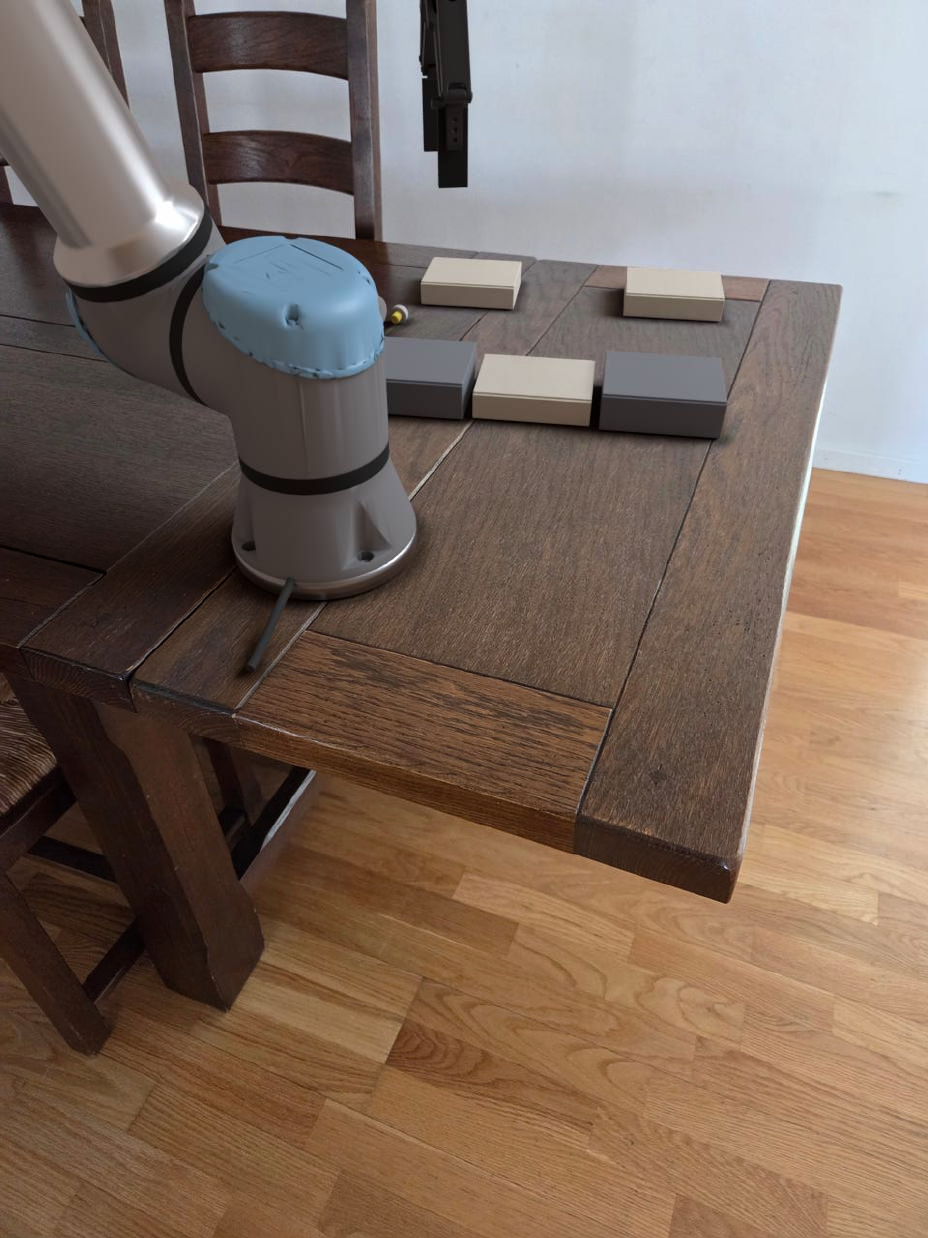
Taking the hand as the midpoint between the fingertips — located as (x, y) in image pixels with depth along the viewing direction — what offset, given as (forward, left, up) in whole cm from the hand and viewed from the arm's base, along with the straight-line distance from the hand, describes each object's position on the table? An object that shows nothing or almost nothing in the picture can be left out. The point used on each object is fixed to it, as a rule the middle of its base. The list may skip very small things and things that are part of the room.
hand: (444, 167), depth 85 cm
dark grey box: (-8, -24, -21) cm, 32 cm away
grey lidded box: (-8, +2, -21) cm, 22 cm away
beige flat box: (-8, -11, -21) cm, 24 cm away
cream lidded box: (+21, -26, -21) cm, 39 cm away
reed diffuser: (+12, +17, -21) cm, 30 cm away
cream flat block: (+21, 0, -21) cm, 30 cm away
